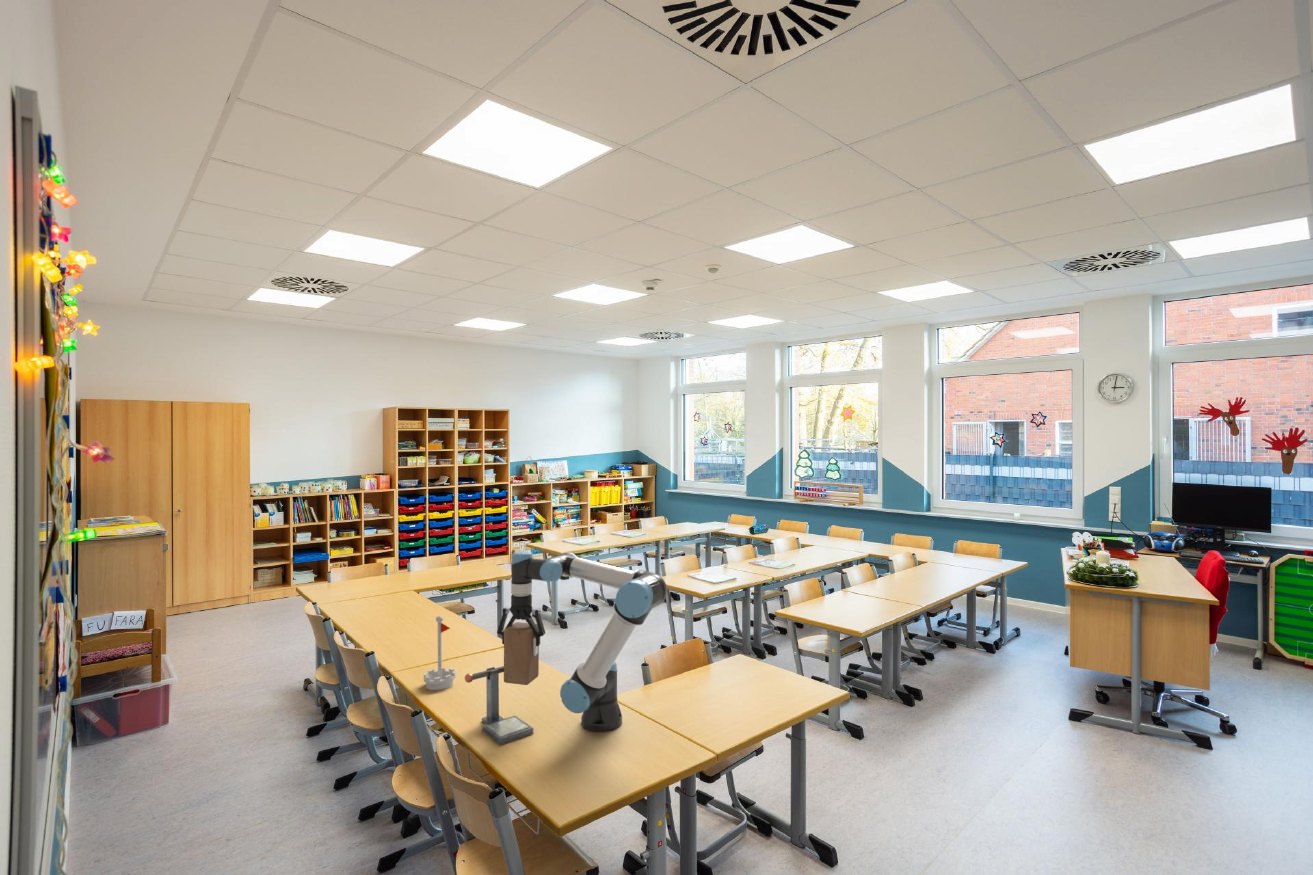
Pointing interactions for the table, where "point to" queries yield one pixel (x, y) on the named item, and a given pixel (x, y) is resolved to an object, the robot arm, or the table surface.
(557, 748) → the table surface
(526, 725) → the press
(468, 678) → the lever
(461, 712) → the table surface
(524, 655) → the wooden block
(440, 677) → the flag stand
